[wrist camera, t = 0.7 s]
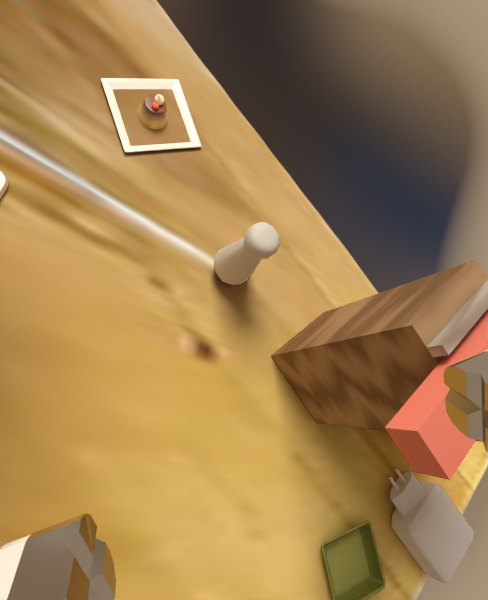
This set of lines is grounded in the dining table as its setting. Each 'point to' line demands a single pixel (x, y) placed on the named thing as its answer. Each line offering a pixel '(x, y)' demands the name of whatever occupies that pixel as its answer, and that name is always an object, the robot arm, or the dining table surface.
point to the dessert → (150, 111)
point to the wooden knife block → (382, 347)
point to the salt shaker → (246, 253)
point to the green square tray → (353, 564)
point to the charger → (429, 525)
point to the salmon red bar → (436, 415)
